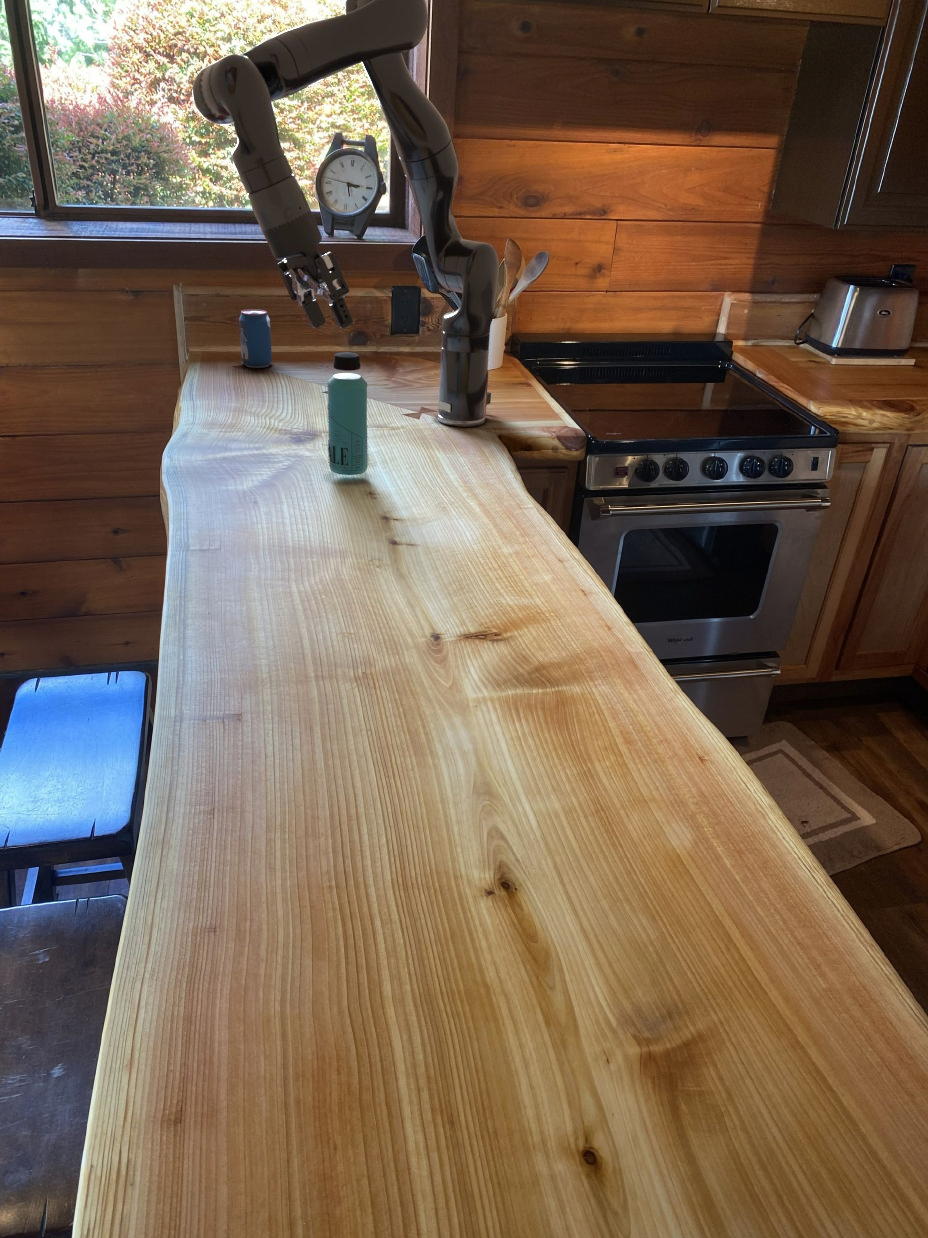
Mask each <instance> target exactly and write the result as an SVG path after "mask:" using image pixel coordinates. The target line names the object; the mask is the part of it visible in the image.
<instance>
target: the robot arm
mask: <svg viewBox="0 0 928 1238" xmlns="http://www.w3.org/2000/svg"><path fill="white" fill-rule="evenodd" d="M428 20H429V11H428V7H427V2H426V0H345V6H344V13H343V14H340V15H336V16H333V17H329V18H324V19H321V20H316V21H312V22H309V23H305V24H302V25H298V26H294V27H293V28H290V29H287V30H285V31H282V32H280V33H278V34H276V35H273V36H272V37H269V38H267V39H264V40H263V41H261V42H259V43H258V44H256V45H255V46H253V47H252V48H250V49H249V50H247V51H245V52H242V53H233V54H228V55H226V56H223V57H222V58H220V59H219V60H217V61H215V62H213V63H211V64H209V65H207V66H205V67H203V68H202V69H201V70H200V71H199V72H198V73H197V74H196V76H195V79H194V80H193V84H192V90H191V91H192V93H191V94H192V100H193V104H194V106H195V108H196V110H197V111H198V113H199V114H200V115H201V116H202V117H203V118H204V119H205V120H207V121H208V122H210V123H213V124H215V125H220V126H226V125H232V124H233V126H234V130H235V131H234V132H235V134H236V138H237V144H236V146H235V147H234V148H233V149H232V151H231V159H232V163H233V166H234V168H235V170H236V172H237V174H238V177H239V179H240V182H241V183H242V186H243V188H244V190H245V192H246V194H247V197H248V199H249V203H250V206H251V210H252V212H253V214H254V216H255V218H256V221H257V223H258V225H259V228H260V229H261V233H262V234H263V237H264V239H265V241H266V243H267V245H268V247H269V249H270V251H271V254H272V256H273V258H274V259H275V260H277V261H279V262H278V263H276V267H277V269H278V272H279V274H280V277H281V279H282V282H283V283H284V286H285V289H286V290H287V292H288V296H289V297H290V300H292V302H297V303H298V305H299V306H302V308H303V310H304V313H305V314H306V317H307V319H308V321H309V323H310V325H311V327H312V328H313V329H318V328H320V327H321V326H323V325H325V324H326V319H325V316H324V314H323V312H322V310H321V308H320V305H319V302H318V301H317V299H315V293H316V294H317V295H321V296H322V297H323V298H324V299H325V300H326V302H327V303H328V304H329V309H330V310H331V312H332V315H333V317H334V319H335V322H336V324H337V327H338V328H339V329H346V328H347V327H349V326H350V325H353V322H354V320H353V318H352V317H353V316H352V315H351V313H350V310H349V307H348V306H347V303H346V301H345V297H346V296H347V294H349V293H350V289H349V286H348V284H347V282H346V279H345V277H344V275H343V273H342V270H341V269H340V267H339V264H338V262H337V260H336V258H335V257H336V256H334V253H333V252H332V251H328V252H326V253H325V254H323V255H322V253H321V252H320V251H319V249H318V244H320V243H321V242H322V240H323V236H322V233H321V230H320V229H319V226H318V224H317V220H316V219H315V217H314V214H313V212H312V209H311V207H310V205H309V203H308V200H307V198H306V196H305V192H304V191H303V189H302V187H301V185H300V183H299V182H298V180H297V178H296V176H295V174H294V172H293V170H292V167H291V165H290V163H289V160H288V157H287V156H286V153H285V151H284V149H283V147H282V144H281V140H280V135H279V130H278V123H277V119H276V114H275V110H274V104H273V102H275V101H278V100H282V99H285V98H288V97H290V96H292V95H294V94H296V93H299V92H300V91H302V90H304V89H307V88H309V87H311V86H313V85H315V84H317V83H318V82H320V81H323V80H324V79H327V78H329V77H331V76H333V75H335V74H338V73H340V72H343V71H344V70H346V69H349V68H350V67H353V66H356V65H358V64H360V63H361V64H362V67H363V69H364V70H365V73H366V75H367V77H368V79H369V81H370V84H371V86H372V88H373V90H374V93H375V95H376V98H377V100H378V102H379V104H380V107H381V110H382V113H383V116H384V119H385V121H386V124H387V127H388V129H389V132H390V134H391V138H392V139H393V143H394V146H395V149H396V153H397V156H398V159H399V162H400V164H401V167H402V170H403V173H404V176H405V179H406V181H407V183H408V185H409V188H410V190H411V191H410V192H411V194H412V196H413V200H414V203H415V206H416V210H417V212H418V215H419V219H420V221H421V224H422V228H423V231H424V232H423V233H424V236H425V240H426V245H427V249H428V252H429V253H428V254H429V257H430V260H431V265H432V269H433V272H434V275H435V277H436V279H437V282H438V283H439V284H440V285H441V287H443V288H444V289H446V290H448V291H450V292H454V293H459V294H461V295H462V296H461V302H460V306H459V308H457V309H456V310H453V311H449V312H446V313H444V314H443V315H442V317H441V329H440V330H441V331H440V334H441V335H440V359H439V384H438V385H439V387H438V402H437V410H438V411H437V420H438V421H439V422H440V423H442V424H444V425H447V426H452V427H463V428H465V427H466V428H468V427H477V426H481V425H483V424H484V423H485V422H486V417H487V407H488V405H490V404H491V400H492V392H490V391H488V383H489V370H488V368H489V367H488V366H489V356H490V355H489V353H490V337H491V334H490V333H491V325H492V322H493V320H494V316H495V313H496V303H497V296H498V287H499V279H500V278H499V277H500V259H499V254H498V253H497V250H496V248H495V247H494V246H493V245H492V244H490V243H489V242H483V241H477V240H473V239H472V240H471V239H464V238H463V237H462V235H461V233H460V230H459V227H458V224H457V222H456V217H455V213H454V202H455V201H454V200H455V196H456V192H457V189H458V184H459V177H460V163H459V158H458V155H457V152H456V148H455V145H454V142H453V139H452V135H451V131H450V129H449V127H448V125H447V122H446V121H445V119H444V117H443V116H442V114H441V113H440V111H438V109H437V108H436V106H435V105H434V104H433V102H431V100H430V99H429V98H428V96H427V95H426V94H425V92H423V90H422V89H421V87H420V86H419V85H418V84H417V83H416V81H415V80H414V78H413V77H412V75H411V73H410V71H409V68H408V66H407V65H406V62H405V59H404V56H403V53H407V52H410V51H411V50H413V49H415V48H416V47H417V46H418V45H419V44H420V42H422V40H423V39H424V36H425V34H426V31H427V27H428V23H429V21H428Z"/></svg>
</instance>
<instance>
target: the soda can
mask: <svg viewBox="0 0 928 1238" xmlns="http://www.w3.org/2000/svg"><path fill="white" fill-rule="evenodd" d="M238 326H239V327H238V328H239V338H240V339H239V340H240V357H241V361H242V364H244V366H245V367H248V368H253V369H260V368H261V369H262V368H267V367H269V366H270V365H271V363H272V361H273V351H272V331H271V319H270V317H269V314H268V311H267V310H264V309H256V308H254V309H253V308H250V309H249V308H248V309H243V310H241V311H240V316H239V318H238Z"/></svg>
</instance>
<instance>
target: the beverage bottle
mask: <svg viewBox="0 0 928 1238" xmlns="http://www.w3.org/2000/svg"><path fill="white" fill-rule="evenodd" d="M360 357H361V356H360V355H359V354H358V353H357V352H356V353H355V352H349V351H341V352H340V351H339V352H335V354H334V356H333V364H332V365H333V369H335V370H338V371H345V372H340V373H335V374H334V375H333V376H332V377H330V378H329V379H328V380H327V383H326V386H327V399H326V400H327V406H326V408H327V411H326V413H327V416H326V417H327V423H328V431H327V434H328V440H327V443H328V444H327V453H328V456H327V457H328V458H327V459H328V467H329V469H330V471H331V472H333V473H335V474H337V475H341V476H356V475H360V474H361V475H362V474H363V473H366V472H367V470H368V466H369V452H368V450H369V447H368V382H367V380H365V379H364V377H362V376H361V375H359V374H357V373H352V371H357V370H360V369H361V358H360ZM346 371H349V372H346ZM350 371H351V372H350Z"/></svg>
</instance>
